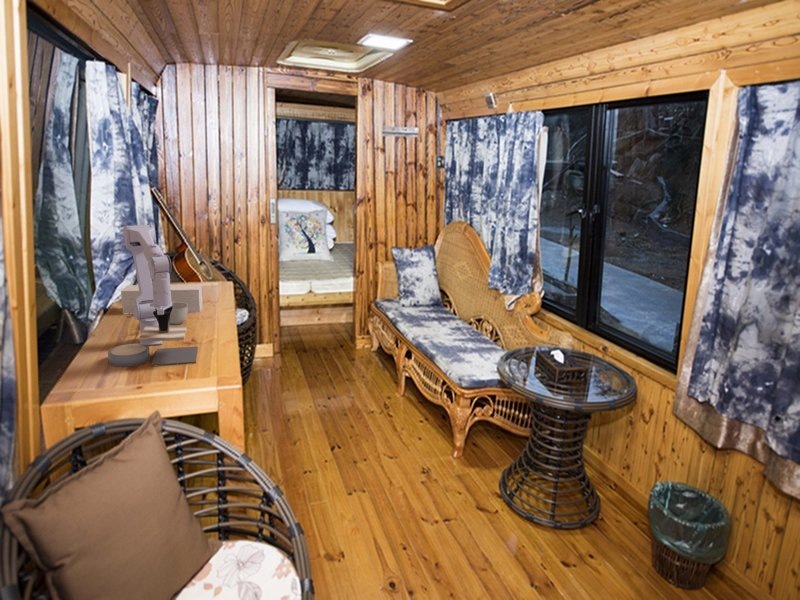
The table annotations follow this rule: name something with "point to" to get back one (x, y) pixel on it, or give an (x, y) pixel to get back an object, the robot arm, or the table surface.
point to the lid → (163, 333)
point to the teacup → (178, 313)
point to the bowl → (128, 355)
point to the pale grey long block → (179, 293)
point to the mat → (175, 356)
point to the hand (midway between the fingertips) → (164, 329)
